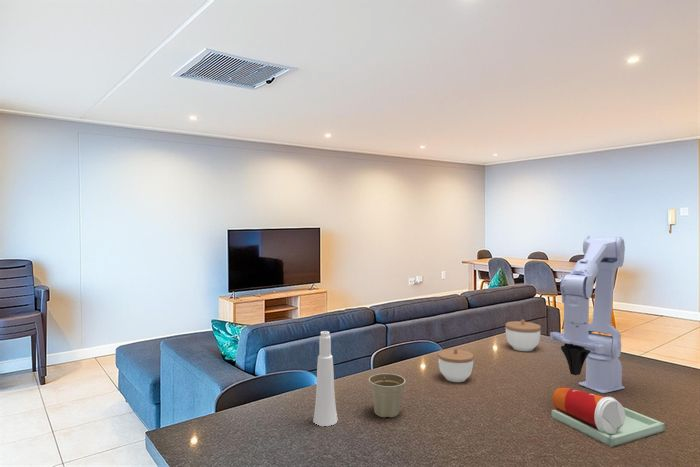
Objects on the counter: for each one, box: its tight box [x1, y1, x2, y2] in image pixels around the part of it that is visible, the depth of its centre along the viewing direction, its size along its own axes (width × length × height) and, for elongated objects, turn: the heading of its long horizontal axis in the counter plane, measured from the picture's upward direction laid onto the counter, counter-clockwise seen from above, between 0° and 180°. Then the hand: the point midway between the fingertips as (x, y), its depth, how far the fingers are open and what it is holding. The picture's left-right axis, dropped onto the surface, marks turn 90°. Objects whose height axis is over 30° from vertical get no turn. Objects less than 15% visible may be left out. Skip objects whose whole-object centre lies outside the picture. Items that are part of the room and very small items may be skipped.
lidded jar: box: [437, 348, 475, 383], centre depth 139 cm, size 11×11×9 cm
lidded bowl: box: [504, 319, 542, 352], centre depth 171 cm, size 13×13×11 cm
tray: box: [551, 406, 666, 448], centre depth 108 cm, size 18×16×2 cm
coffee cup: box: [551, 386, 625, 434], centre depth 108 cm, size 8×8×15 cm
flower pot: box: [368, 373, 406, 418], centre depth 115 cm, size 9×9×9 cm
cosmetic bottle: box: [312, 330, 339, 427], centre depth 110 cm, size 6×6×22 cm
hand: (575, 374), depth 116 cm, fingers closed
